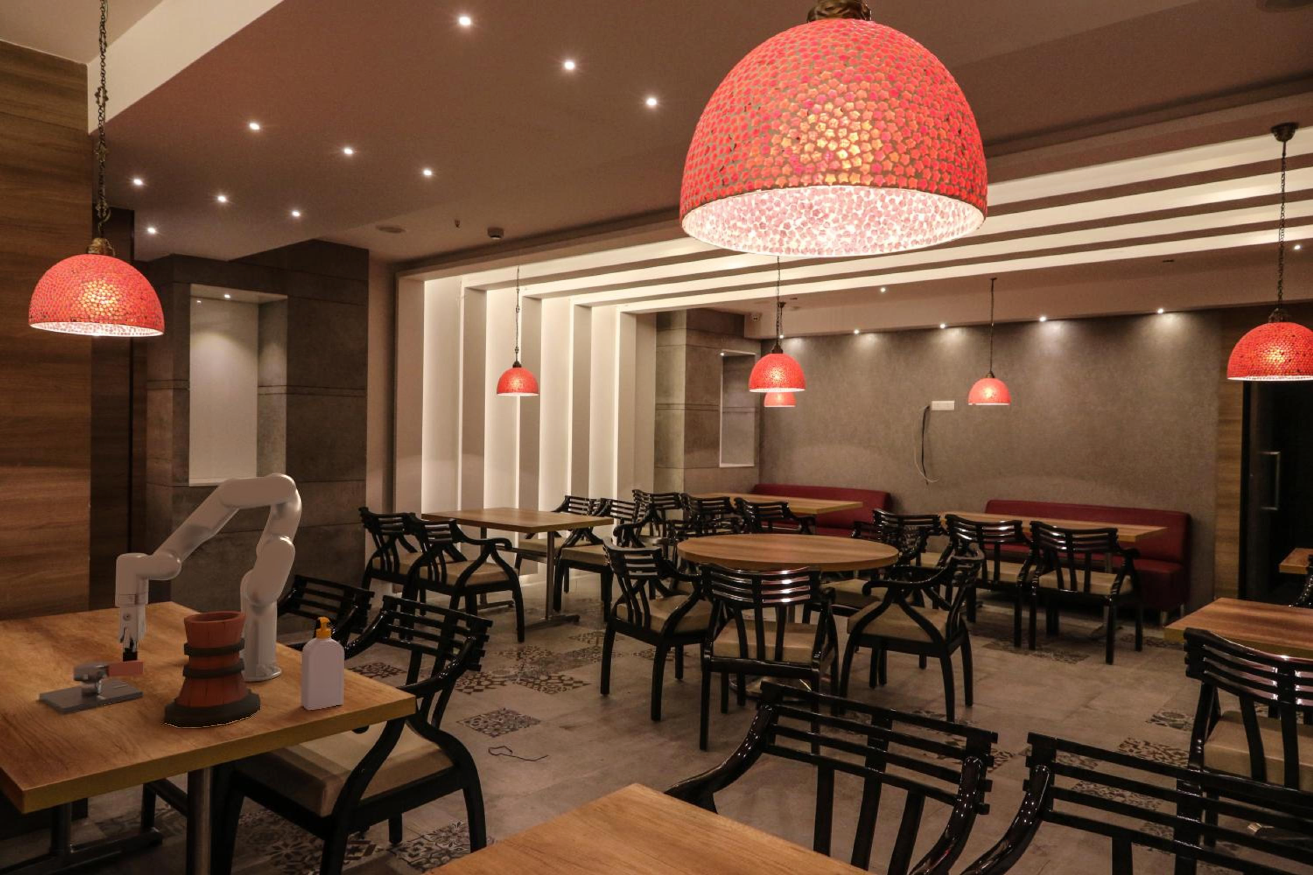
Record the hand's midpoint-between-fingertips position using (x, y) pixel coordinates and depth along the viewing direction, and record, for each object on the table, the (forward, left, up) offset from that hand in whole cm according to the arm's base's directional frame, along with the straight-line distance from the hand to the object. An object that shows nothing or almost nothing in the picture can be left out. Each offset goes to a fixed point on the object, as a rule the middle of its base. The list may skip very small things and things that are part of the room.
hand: (129, 665), depth 220 cm
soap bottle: (-49, -28, -7) cm, 57 cm away
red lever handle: (0, +5, -2) cm, 5 cm away
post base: (+2, +8, -7) cm, 11 cm away
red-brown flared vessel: (-33, -8, -8) cm, 35 cm away
